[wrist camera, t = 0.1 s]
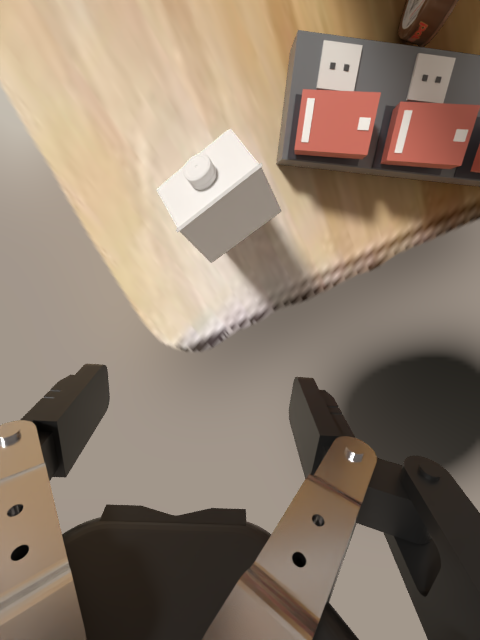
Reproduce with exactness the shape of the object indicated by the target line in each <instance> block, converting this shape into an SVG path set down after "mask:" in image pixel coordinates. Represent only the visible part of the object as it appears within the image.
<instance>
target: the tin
mask: <svg viewBox="0 0 480 640" xmlns="http://www.w3.org/2000/svg"><path fill="white" fill-rule="evenodd" d="M457 2H458V0H407V2H406V5H405V8H404V11H403V14H402V17H401V21H400V25H399V37H400V38H401V39H403V40H405V41H407V42H410V43H413V44H416V45H417V46H418V47H424V46H425V45H426V44H428V43H429V42H430V41H431V40H432V39H433V37H434V36H435V35H436V34H437V32H438V31H439V30H440V28H441V27H442V26H443V24H444V23H445V21H446V20H447V18H448V17H449V15H450V14H451V12H452V10H453V9H454V7H455V5H456V4H457Z"/></svg>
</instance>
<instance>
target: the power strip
mask: <svg viewBox="0 0 480 640" xmlns="http://www.w3.org/2000/svg"><path fill="white" fill-rule="evenodd" d="M303 89H311V90H335V91H359V92H381V95H380V99H379V104H378V108H377V113H376V118H375V122H374V127H373V132H372V136H371V141H370V145H369V150H368V155H367V156H366V157H364V158H363V159H352V158H338V157H324V156H310V155H296V154H295V153H294V149H295V142H296V134H297V127H298V120H299V113H300V106H301V98H302V91H303ZM400 102H423V103H445V104H467V105H480V55H474V54H467V53H460V52H453V51H445V50H438V49H431V48H424V47H417V46H409V45H402V44H395V43H388V42H380V41H373V40H366V39H359V38H351V37H344V36H337V35H330V34H322V33H315V32H308V31H301V30H298V32H297V34H296V37H295V40H294V42H293V45H292V48H291V50H290V57H289V65H288V73H287V81H286V90H285V98H284V106H283V114H282V122H281V131H280V139H279V147H278V155H277V163H276V164H279V165H288V166H297V167H306V168H315V169H325V170H334V171H343V172H352V173H361V174H370V175H379V176H388V177H397V178H406V179H415V180H425V181H434V182H443V183H452V184H461V185H470V186H479V187H480V173H476V172H470V171H471V168H472V165H473V162H474V159H475V156H476V153H477V150H478V147H479V144H480V108H479V112H478V115H477V118H476V121H475V124H474V127H473V130H472V134H471V137H470V140H469V143H468V146H467V149H466V152H465V155H464V159H463V162H462V165H461V166H458V167H455V168H452V169H441V168H427V167H414V166H400V165H387V164H380V163H381V159H382V155H383V151H384V146H385V142H386V138H387V133H388V129H389V125H390V121H391V116H392V112H393V109H394V108H395V107H396V106H397V105H398V104H399V103H400Z"/></svg>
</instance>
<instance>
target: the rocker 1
mask: <svg viewBox="0 0 480 640" xmlns="http://www.w3.org/2000/svg"><path fill="white" fill-rule="evenodd" d="M380 95H381V92H359V91H335V90H311V89H303V91H302V98H301V106H300V113H299V120H298V127H297V134H296V142H295V149H294V153H295V154H296V155H310V156H324V157H338V158H352V159H363V158H364V157H366V156H367V155H368V150H369V145H370V141H371V136H372V132H373V127H374V122H375V118H376V113H377V108H378V104H379V99H380Z"/></svg>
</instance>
